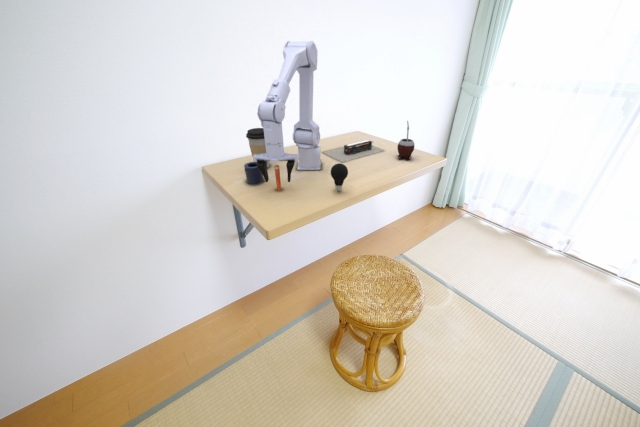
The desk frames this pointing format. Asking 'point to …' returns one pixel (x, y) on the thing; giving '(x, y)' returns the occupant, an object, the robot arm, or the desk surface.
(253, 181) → the navy hollow cylinder
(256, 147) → the coffee cup
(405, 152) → the mate gourd
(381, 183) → the desk surface
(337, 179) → the light bulb
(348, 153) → the model train on plate
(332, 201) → the desk surface
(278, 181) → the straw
